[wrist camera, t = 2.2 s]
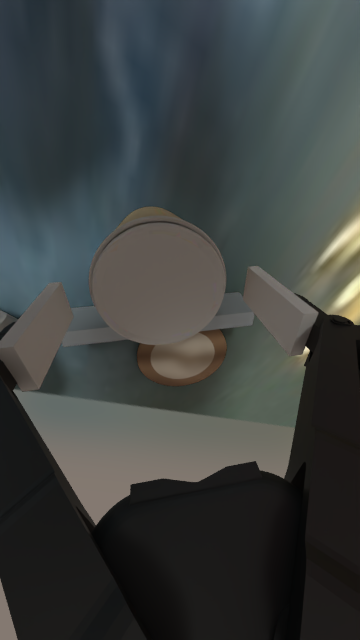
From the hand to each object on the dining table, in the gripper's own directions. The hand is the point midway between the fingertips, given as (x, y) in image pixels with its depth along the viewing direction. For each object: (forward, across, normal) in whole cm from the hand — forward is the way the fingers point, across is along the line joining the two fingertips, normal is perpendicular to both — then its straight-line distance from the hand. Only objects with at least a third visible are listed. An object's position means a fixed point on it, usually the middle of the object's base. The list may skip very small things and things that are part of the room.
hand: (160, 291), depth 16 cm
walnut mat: (+11, +3, -16) cm, 20 cm away
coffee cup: (+11, 0, +1) cm, 11 cm away
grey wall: (+11, 0, -7) cm, 13 cm away
